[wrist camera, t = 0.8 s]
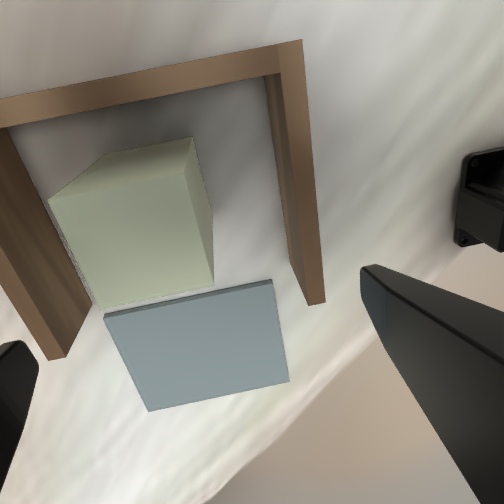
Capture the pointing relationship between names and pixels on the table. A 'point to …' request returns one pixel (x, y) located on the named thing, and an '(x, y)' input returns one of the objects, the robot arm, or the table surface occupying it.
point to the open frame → (129, 90)
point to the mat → (202, 345)
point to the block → (139, 223)
